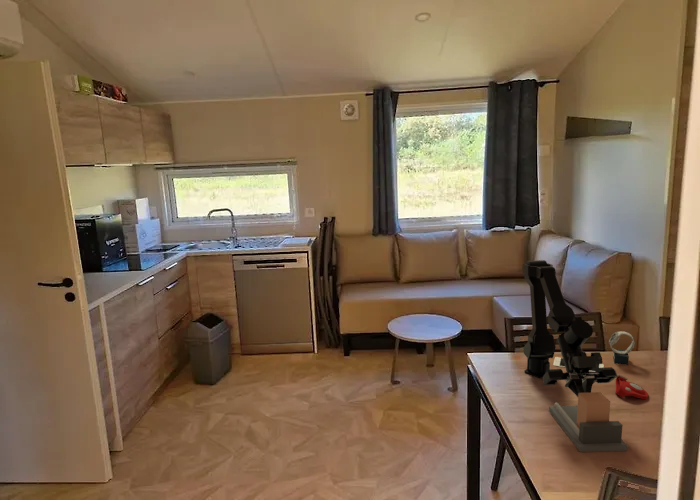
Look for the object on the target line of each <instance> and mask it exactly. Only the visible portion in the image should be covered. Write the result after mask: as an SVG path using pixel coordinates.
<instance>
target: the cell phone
mask: <svg viewBox="0 0 700 500" xmlns="http://www.w3.org/2000/svg"><path fill="white" fill-rule="evenodd" d="M562 359H563V357H560V356H559V357H558V356H555V357H554V360H553V363H552V366H554V367H559V368H565V364H564V363H562ZM599 368H605V365H604V363H602V364H597V368H593V369H592V370H589V372H595V371H597V370H598V369H599ZM565 369H566V368H565Z"/></svg>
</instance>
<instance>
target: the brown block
mask: <svg viewBox="0 0 700 500" xmlns="http://www.w3.org/2000/svg"><path fill="white" fill-rule="evenodd" d="M577 406H578V408H577V425H576V426H577V427H578V428H579V427H580V422H604V421H610V413H611V400H609V398H607V397H606V396H605V395H604V393H603V392H602V391H599V392H596V391H595V392H594V391H593V392H592V391H591V392H590V393H578V397H577Z"/></svg>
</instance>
